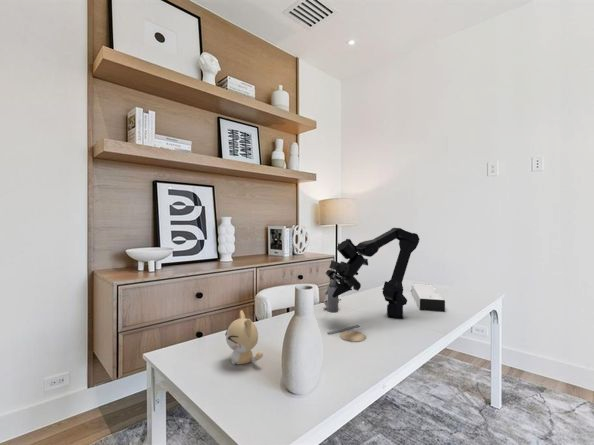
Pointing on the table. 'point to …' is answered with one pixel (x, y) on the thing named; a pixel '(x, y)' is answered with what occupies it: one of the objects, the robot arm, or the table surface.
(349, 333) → the cork coaster
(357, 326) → the felt line
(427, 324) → the table surface
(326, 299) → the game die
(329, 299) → the grey stepped cylinder
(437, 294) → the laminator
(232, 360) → the kitten
